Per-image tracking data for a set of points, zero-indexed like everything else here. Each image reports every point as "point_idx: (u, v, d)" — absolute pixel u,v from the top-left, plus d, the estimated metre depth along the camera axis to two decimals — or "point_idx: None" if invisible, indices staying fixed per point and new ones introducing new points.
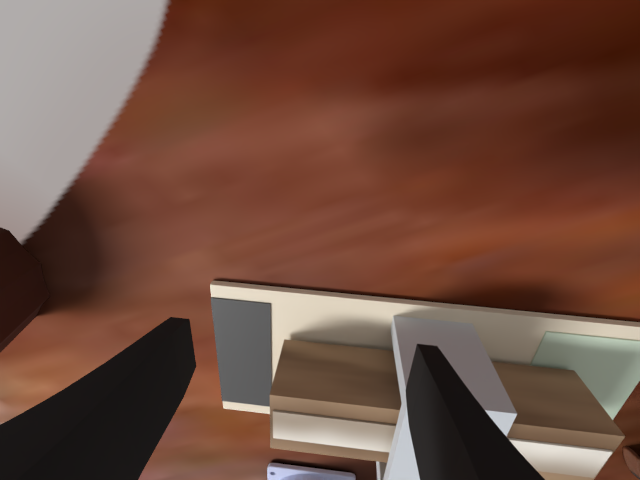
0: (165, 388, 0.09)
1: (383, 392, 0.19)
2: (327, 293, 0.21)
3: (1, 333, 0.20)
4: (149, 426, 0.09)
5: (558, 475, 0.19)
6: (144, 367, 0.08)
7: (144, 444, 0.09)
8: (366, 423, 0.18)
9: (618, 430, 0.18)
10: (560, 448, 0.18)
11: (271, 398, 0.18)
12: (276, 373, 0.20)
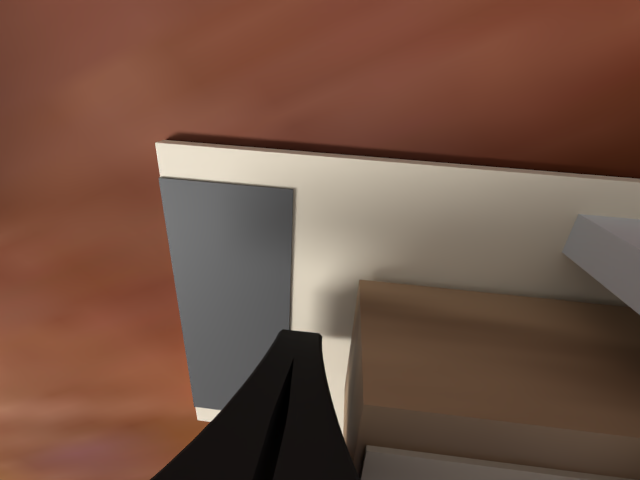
0: None
1: None
2: (426, 162, 0.09)
3: None
4: (281, 443, 0.08)
5: None
6: (285, 384, 0.08)
7: None
8: None
9: None
10: None
11: (367, 414, 0.06)
12: (364, 347, 0.08)
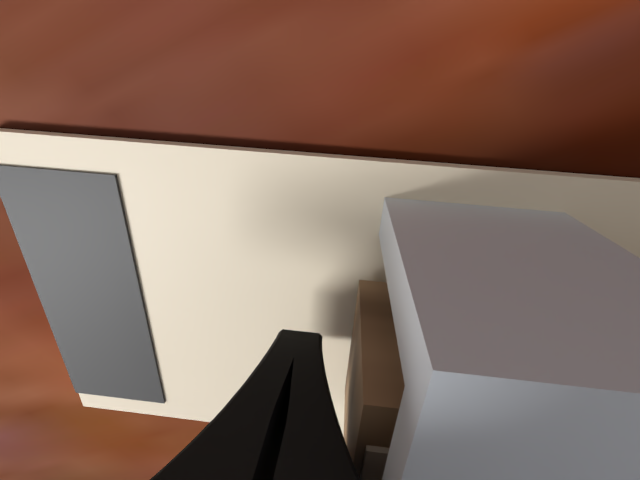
0: None
1: None
2: (237, 147, 0.09)
3: None
4: (281, 443, 0.08)
5: None
6: (285, 384, 0.08)
7: None
8: None
9: None
10: None
11: (367, 414, 0.06)
12: (364, 347, 0.08)
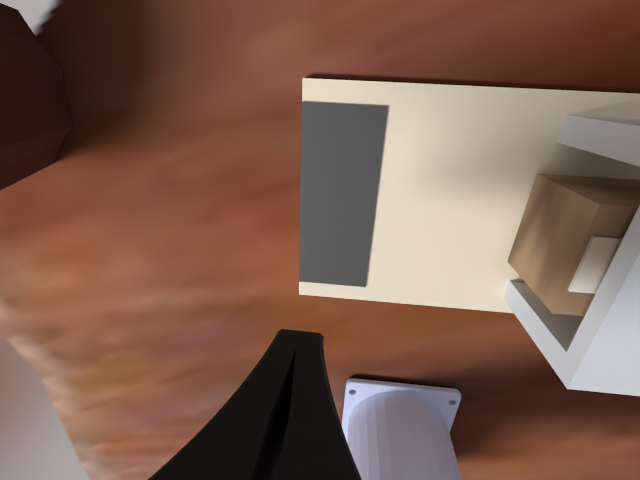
0: (289, 403, 0.09)
1: None
2: None
3: (9, 132, 0.14)
4: (280, 443, 0.08)
5: None
6: (283, 383, 0.08)
7: (277, 461, 0.08)
8: None
9: None
10: None
11: (599, 212, 0.12)
12: (575, 192, 0.13)
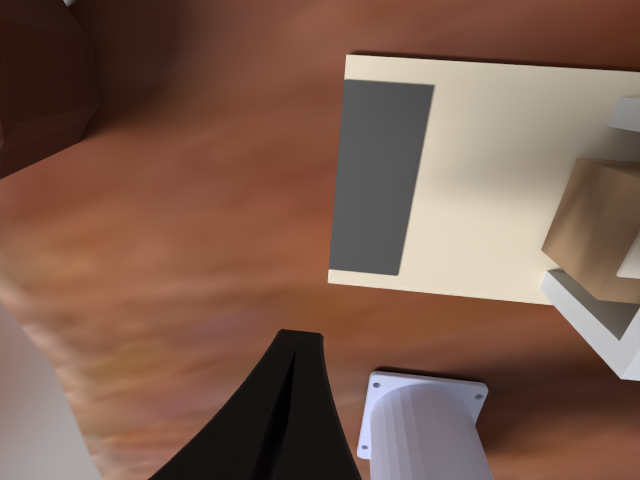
0: (289, 403, 0.09)
1: None
2: (521, 65, 0.14)
3: (42, 103, 0.13)
4: (280, 443, 0.08)
5: None
6: (283, 383, 0.08)
7: (277, 461, 0.08)
8: None
9: None
10: None
11: None
12: (626, 173, 0.12)
